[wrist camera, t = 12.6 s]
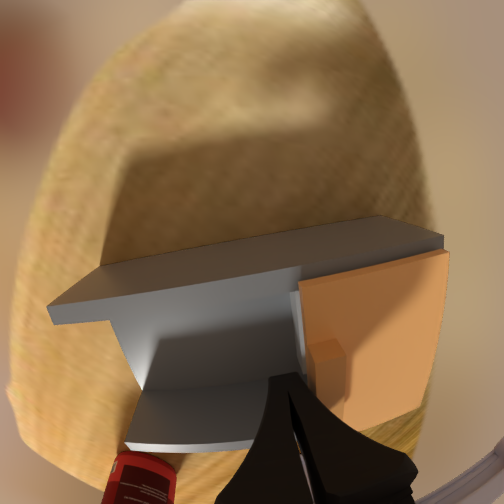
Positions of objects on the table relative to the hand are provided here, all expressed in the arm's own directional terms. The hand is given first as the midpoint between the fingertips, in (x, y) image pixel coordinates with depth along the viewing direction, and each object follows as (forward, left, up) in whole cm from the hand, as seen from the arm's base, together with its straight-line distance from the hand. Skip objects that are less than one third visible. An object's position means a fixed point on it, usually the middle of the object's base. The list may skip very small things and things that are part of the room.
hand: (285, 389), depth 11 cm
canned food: (-19, +17, -7) cm, 26 cm away
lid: (0, -5, 0) cm, 5 cm away
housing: (0, +1, -7) cm, 7 cm away
